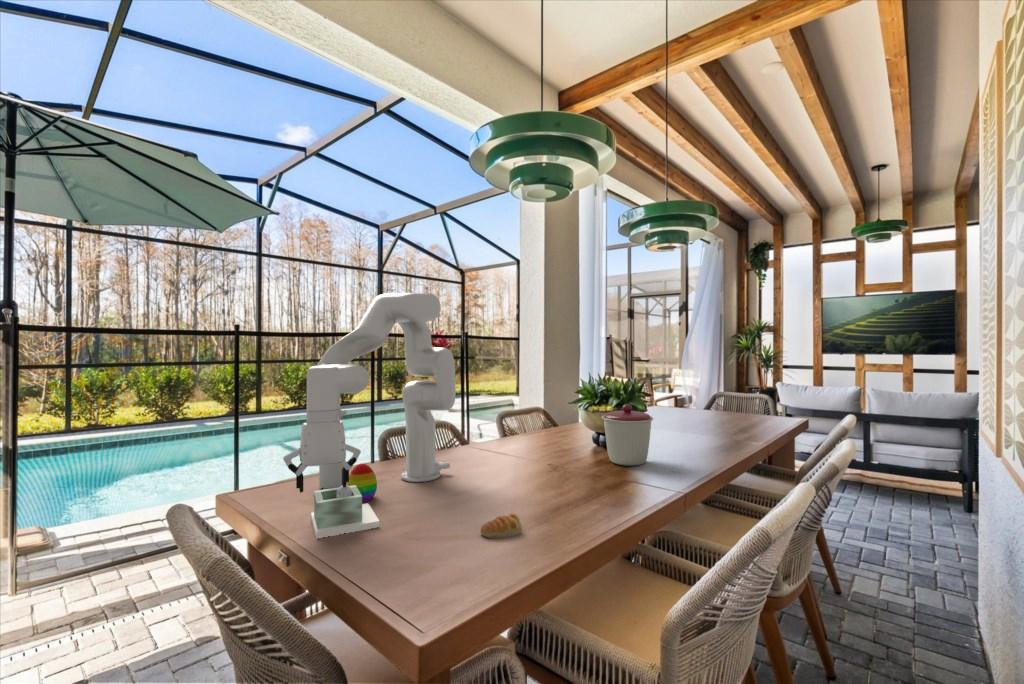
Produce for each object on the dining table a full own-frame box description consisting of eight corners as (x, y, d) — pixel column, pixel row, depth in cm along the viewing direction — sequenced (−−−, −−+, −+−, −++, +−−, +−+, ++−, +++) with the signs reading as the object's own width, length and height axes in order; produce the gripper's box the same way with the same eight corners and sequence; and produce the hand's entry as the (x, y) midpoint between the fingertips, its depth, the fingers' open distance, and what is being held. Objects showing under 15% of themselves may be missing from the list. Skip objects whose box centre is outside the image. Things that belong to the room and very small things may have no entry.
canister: (623, 471, 159) (622, 409, 159) (592, 459, 175) (591, 402, 175) (664, 465, 166) (664, 405, 166) (631, 454, 183) (631, 400, 183)
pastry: (488, 543, 104) (488, 526, 104) (475, 532, 110) (475, 516, 110) (525, 534, 109) (524, 518, 109) (511, 524, 114) (510, 509, 114)
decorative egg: (373, 503, 130) (373, 467, 130) (343, 504, 129) (342, 468, 129) (379, 494, 138) (379, 459, 138) (351, 494, 137) (351, 460, 137)
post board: (368, 508, 125) (367, 474, 125) (379, 527, 113) (379, 488, 113) (311, 518, 119) (310, 481, 119) (316, 539, 107) (316, 498, 106)
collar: (355, 508, 122) (355, 485, 122) (362, 521, 113) (362, 496, 113) (313, 515, 117) (313, 490, 117) (317, 529, 108) (316, 503, 108)
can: (313, 489, 143) (313, 449, 143) (331, 482, 150) (331, 444, 150) (333, 492, 140) (332, 451, 140) (350, 484, 147) (350, 446, 147)
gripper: (358, 412, 121) (357, 479, 121) (283, 417, 113) (282, 489, 113) (363, 416, 114) (363, 487, 114) (284, 421, 106) (283, 497, 106)
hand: (323, 488), depth 113 cm, fingers open, 9 cm apart
